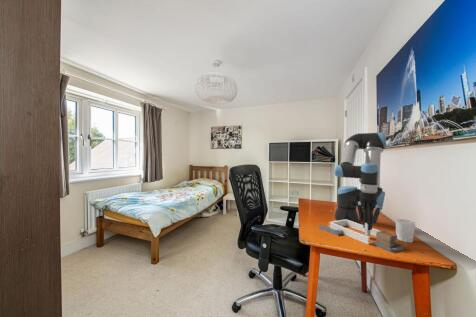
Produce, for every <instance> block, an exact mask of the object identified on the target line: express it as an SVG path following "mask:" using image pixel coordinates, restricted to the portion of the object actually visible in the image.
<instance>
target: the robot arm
mask: <svg viewBox="0 0 476 317" xmlns="http://www.w3.org/2000/svg"><path fill="white" fill-rule="evenodd" d="M386 140H387V139H386V135H385V133H383V132H377V131H376V132H365V133H362V132H360V133H355V134H353V135H350V137H348V138H347V139H346V140H345V142H344V144H343V148H344V149H343V153H342V157H341V159H340V163H339V164H336V165H335V166H334V176H335V177H339V178H347V179H360V189H359V188H358V186H351V185H350V186H339V188H338V190H337V208H336V210H335V213H334V219H335V221H339V220H345V219H347V220H350V221H353V222H356V223H359V222H360V221H362V222H363V224H362V225H363V228H365V232H363V233H364V234H363V235H365V236H368V237H370V236H371V235H370V232H371V230H372V228H373V225H375V224H377V222H378V219H379V216H380V213H381V211H382V210H383V207H384V202H385V196H386V191H383V188H382V187H381V186H380V184H381V182H380V181H381V157H382V156H381V154H382V153H383V152H384V150H386V149H387V143H386V142H387V141H386ZM358 150H363V153H365V160H364V161H365V163H361V165H355V159H356V155H357V151H358ZM359 224H360V223H359Z"/></svg>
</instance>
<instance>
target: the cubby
mask: <svg viewBox="0 0 476 317" xmlns="http://www.w3.org/2000/svg"><path fill="white" fill-rule="evenodd" d="M346 226H347V227H349V228H347V227H346ZM328 227H329V228H332V229H334V230H339V229H340V230H343V234H342V235H344V236H347V237H350V238H352V239H354V240H356V241H359V242H361V243H363V244H366V245H370V241H371V240H370V238H371V237H370V236H373V237H376V234H377V232H380V231H381V230H379V229H376V228H373V227H372V230H371V232H370V235H369V236H366V235H364V234H362V233H359V232H357V231H360V232H363V233H365V228H363V224H362V223H361V224H360V223H356V222H353V221H350V220H347V219H345V220H339V221H338V220H333V221H328ZM350 228H353V229H355V230H356V231H355V230H353V229H350Z"/></svg>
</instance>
